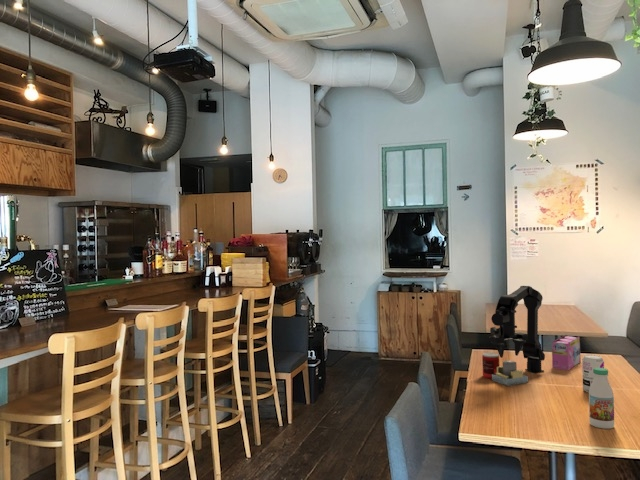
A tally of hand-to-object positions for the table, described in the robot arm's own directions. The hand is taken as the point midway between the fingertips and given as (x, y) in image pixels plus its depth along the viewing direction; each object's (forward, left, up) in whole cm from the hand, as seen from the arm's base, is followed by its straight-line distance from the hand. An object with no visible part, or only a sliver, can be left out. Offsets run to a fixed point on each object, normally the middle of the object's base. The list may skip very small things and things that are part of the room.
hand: (509, 356), depth 233 cm
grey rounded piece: (0, 0, -9) cm, 9 cm away
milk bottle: (+12, +56, -12) cm, 58 cm away
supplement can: (-20, +28, -12) cm, 36 cm away
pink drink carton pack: (-49, -10, -12) cm, 51 cm away
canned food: (+2, -10, -12) cm, 16 cm away
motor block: (0, 0, -12) cm, 12 cm away
